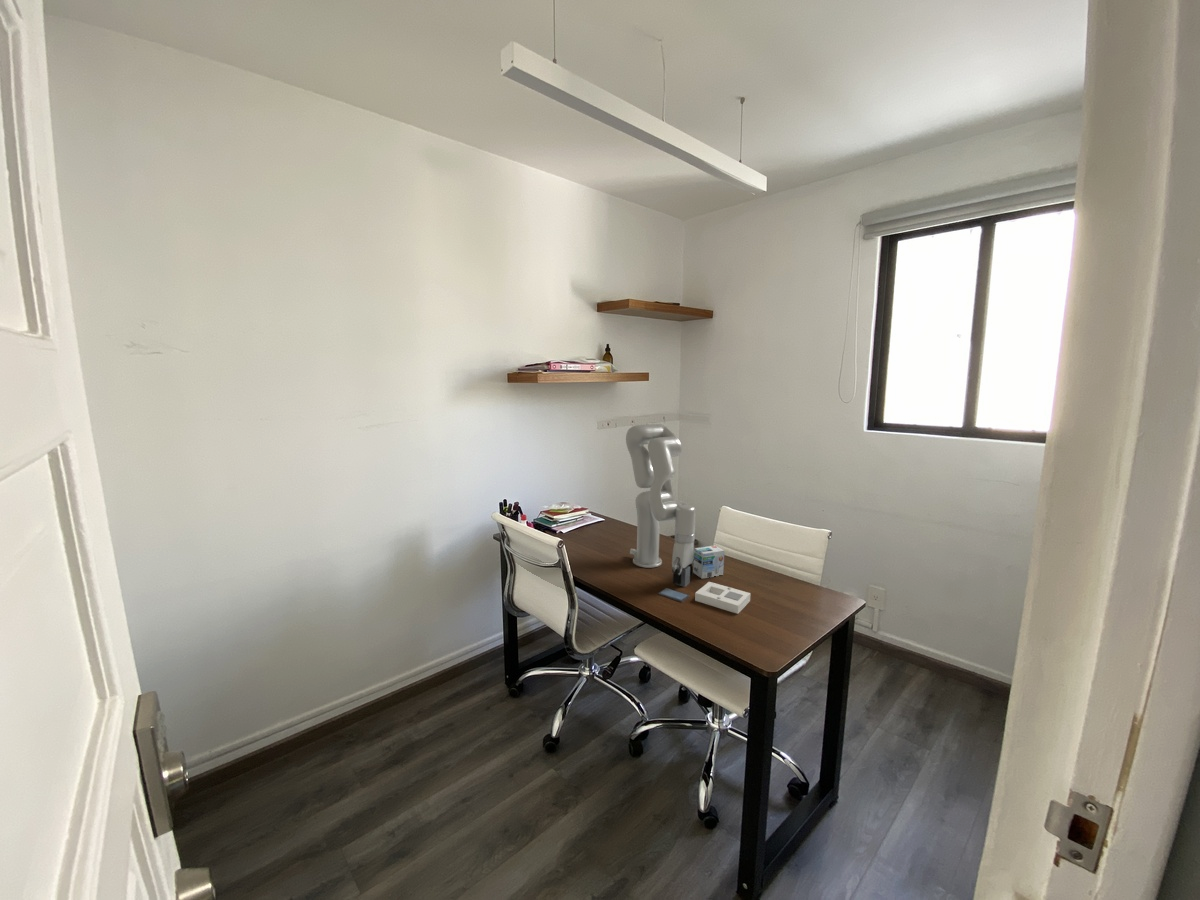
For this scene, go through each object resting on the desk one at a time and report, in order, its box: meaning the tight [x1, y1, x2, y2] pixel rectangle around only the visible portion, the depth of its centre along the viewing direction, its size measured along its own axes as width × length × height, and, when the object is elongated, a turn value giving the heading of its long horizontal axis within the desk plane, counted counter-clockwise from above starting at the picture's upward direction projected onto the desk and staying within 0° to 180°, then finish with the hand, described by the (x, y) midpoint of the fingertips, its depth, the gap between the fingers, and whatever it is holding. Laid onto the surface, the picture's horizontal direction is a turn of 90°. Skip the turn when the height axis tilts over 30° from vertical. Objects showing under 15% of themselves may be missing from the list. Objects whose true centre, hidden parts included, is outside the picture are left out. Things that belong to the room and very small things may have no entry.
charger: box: [675, 565, 691, 588], centre depth 186 cm, size 4×4×7 cm
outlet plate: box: [694, 581, 751, 614], centre depth 173 cm, size 16×12×3 cm
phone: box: [657, 587, 691, 603], centre depth 177 cm, size 10×6×1 cm, turn 51°
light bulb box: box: [693, 544, 725, 579], centre depth 196 cm, size 11×7×11 cm, turn 112°
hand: (682, 579), depth 186 cm, fingers open, 9 cm apart
